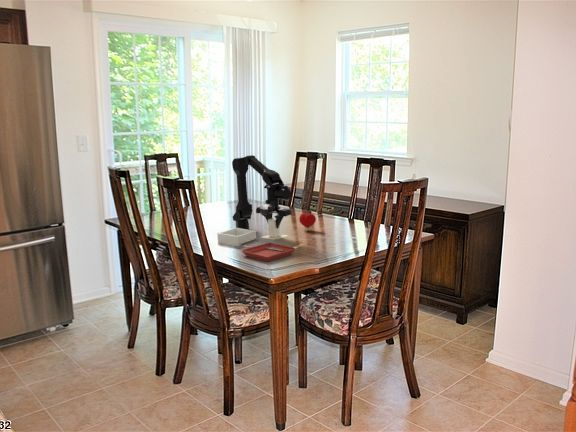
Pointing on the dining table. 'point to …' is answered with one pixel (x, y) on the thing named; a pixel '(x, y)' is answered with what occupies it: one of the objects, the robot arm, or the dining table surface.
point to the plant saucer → (268, 251)
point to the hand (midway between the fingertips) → (273, 227)
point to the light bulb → (307, 220)
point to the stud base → (273, 237)
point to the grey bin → (236, 236)
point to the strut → (273, 228)
